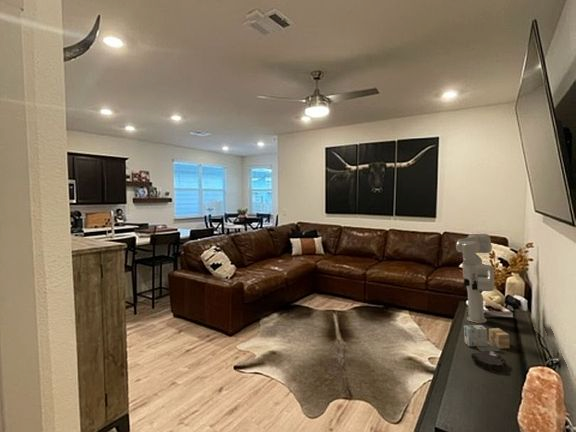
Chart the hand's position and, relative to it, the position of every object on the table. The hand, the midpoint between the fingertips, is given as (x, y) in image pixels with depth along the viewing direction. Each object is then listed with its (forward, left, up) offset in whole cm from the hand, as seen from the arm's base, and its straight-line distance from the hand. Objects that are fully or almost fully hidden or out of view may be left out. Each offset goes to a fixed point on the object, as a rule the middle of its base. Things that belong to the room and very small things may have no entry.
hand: (470, 287), depth 212 cm
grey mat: (+19, -4, -30) cm, 36 cm away
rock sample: (+40, -13, -31) cm, 52 cm away
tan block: (+18, +6, -30) cm, 36 cm away
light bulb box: (+17, -2, -25) cm, 30 cm away
